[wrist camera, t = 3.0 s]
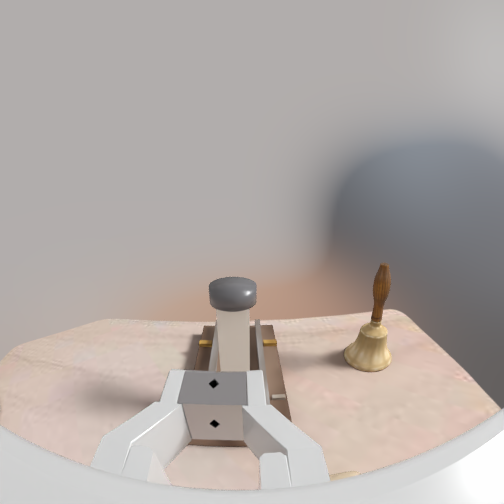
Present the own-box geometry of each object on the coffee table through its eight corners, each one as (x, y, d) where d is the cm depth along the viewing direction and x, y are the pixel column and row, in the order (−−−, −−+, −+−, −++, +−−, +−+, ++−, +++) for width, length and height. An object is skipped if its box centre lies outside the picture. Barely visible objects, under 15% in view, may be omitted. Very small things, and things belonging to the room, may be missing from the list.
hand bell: (356, 376, 35) (378, 276, 30) (336, 347, 43) (349, 256, 38) (400, 365, 36) (425, 271, 31) (376, 339, 44) (392, 254, 39)
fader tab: (215, 410, 27) (203, 295, 23) (218, 385, 31) (209, 277, 27) (258, 409, 27) (260, 294, 23) (256, 385, 31) (257, 276, 27)
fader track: (184, 444, 24) (178, 426, 23) (205, 335, 47) (203, 318, 46) (292, 443, 24) (295, 426, 23) (272, 334, 47) (272, 317, 46)
